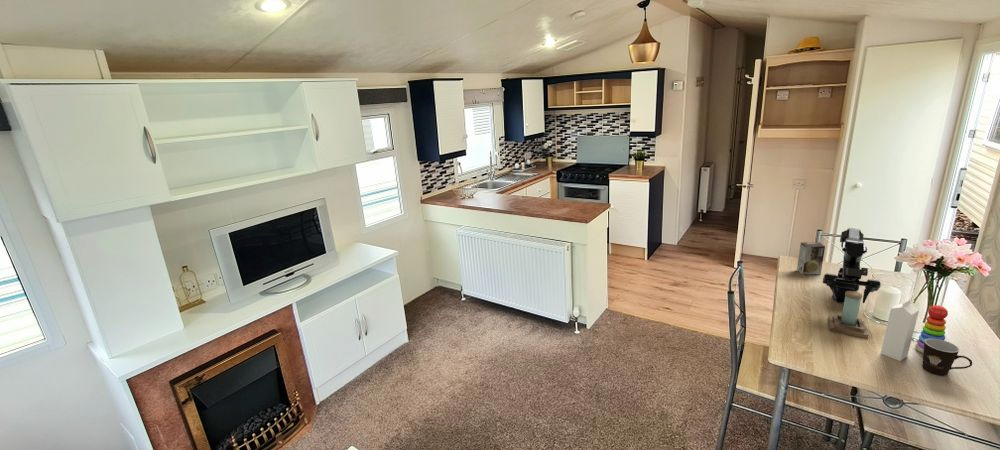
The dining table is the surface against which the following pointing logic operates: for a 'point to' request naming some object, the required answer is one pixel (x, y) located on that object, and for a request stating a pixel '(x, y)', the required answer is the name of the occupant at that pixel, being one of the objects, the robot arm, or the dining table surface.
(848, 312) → the cup
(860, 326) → the brown wooden square tray
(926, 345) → the coffee mug
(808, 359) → the dining table surface
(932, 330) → the stacking toy
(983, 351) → the dining table surface
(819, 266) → the coffee box
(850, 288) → the robot arm
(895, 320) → the milk
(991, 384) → the dining table surface
